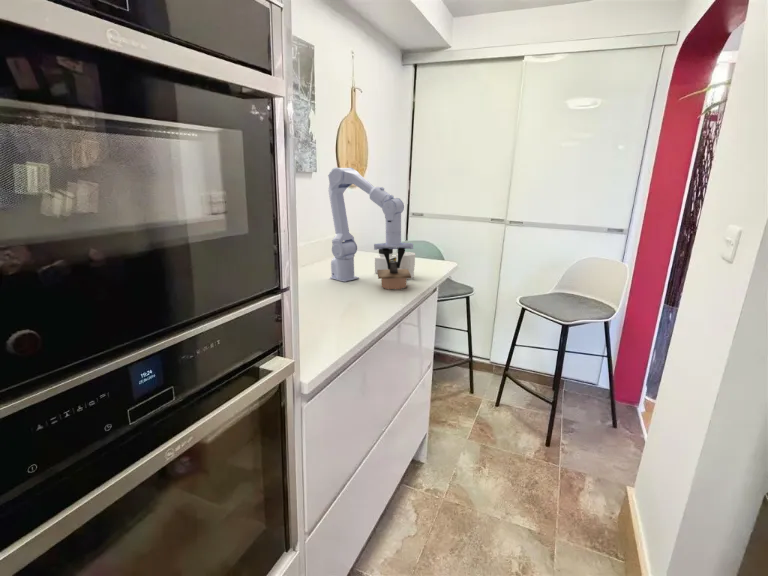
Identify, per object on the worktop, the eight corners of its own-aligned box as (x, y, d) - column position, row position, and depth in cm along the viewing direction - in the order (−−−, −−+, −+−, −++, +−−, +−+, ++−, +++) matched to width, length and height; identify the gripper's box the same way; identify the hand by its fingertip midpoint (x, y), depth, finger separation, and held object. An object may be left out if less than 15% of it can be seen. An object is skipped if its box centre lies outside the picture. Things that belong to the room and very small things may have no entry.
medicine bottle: (388, 275, 181) (388, 247, 177) (374, 273, 184) (374, 246, 181) (397, 272, 186) (397, 244, 183) (383, 270, 190) (383, 243, 187)
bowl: (376, 286, 163) (376, 275, 162) (392, 282, 169) (392, 271, 168) (394, 290, 157) (394, 279, 155) (410, 286, 163) (410, 274, 162)
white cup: (415, 275, 180) (415, 252, 177) (414, 279, 173) (414, 255, 170) (396, 275, 181) (396, 251, 178) (395, 279, 173) (395, 255, 171)
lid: (378, 278, 156) (378, 265, 154) (377, 271, 167) (377, 259, 166) (411, 278, 156) (411, 265, 155) (407, 271, 168) (407, 259, 166)
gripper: (373, 233, 153) (374, 270, 157) (414, 233, 154) (413, 269, 157) (373, 231, 160) (374, 266, 164) (412, 230, 161) (412, 265, 164)
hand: (393, 268), depth 161 cm, fingers open, 3 cm apart
